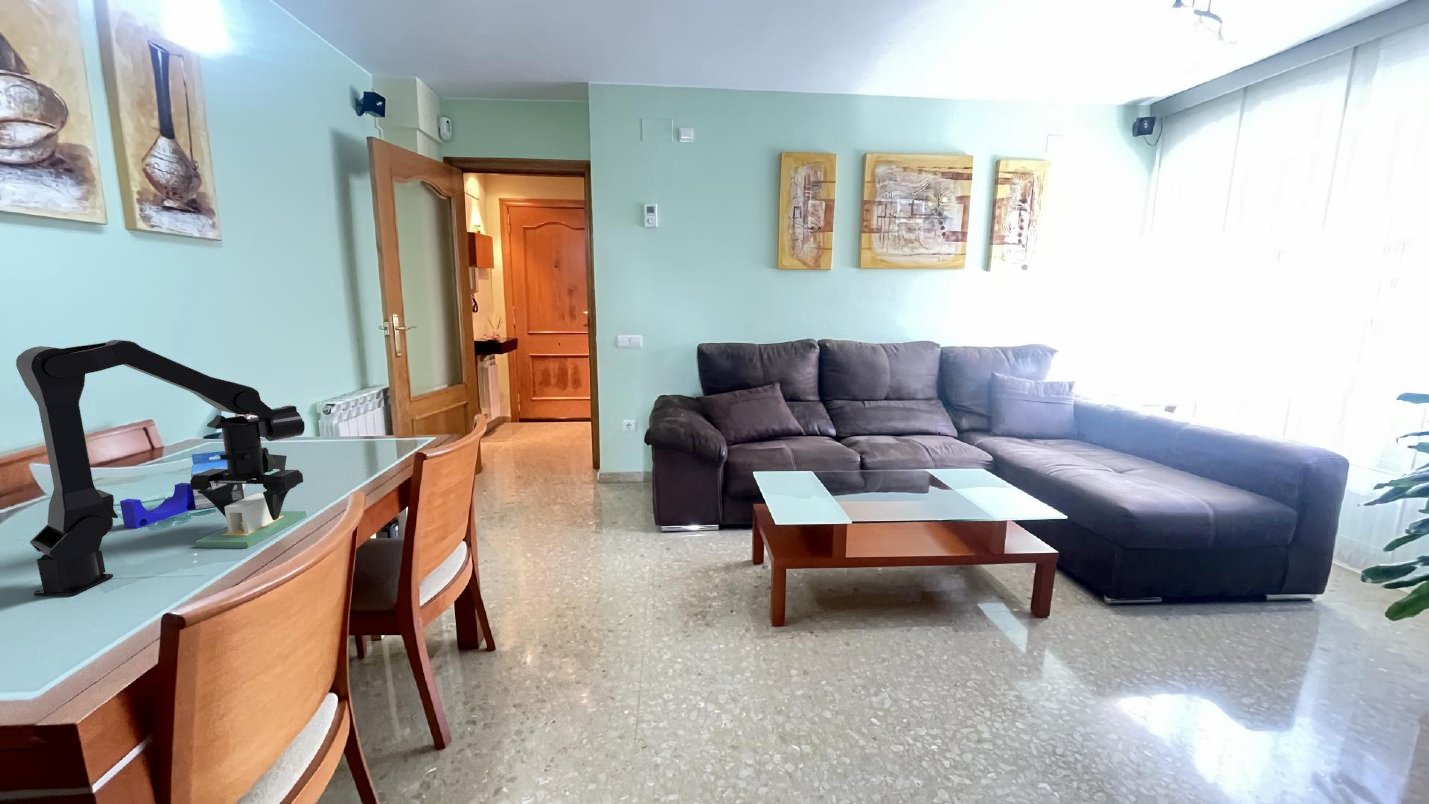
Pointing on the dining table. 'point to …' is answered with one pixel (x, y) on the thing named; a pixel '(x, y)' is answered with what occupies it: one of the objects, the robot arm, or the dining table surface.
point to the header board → (249, 539)
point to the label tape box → (204, 464)
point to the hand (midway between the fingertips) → (253, 519)
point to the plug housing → (248, 513)
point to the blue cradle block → (158, 508)
